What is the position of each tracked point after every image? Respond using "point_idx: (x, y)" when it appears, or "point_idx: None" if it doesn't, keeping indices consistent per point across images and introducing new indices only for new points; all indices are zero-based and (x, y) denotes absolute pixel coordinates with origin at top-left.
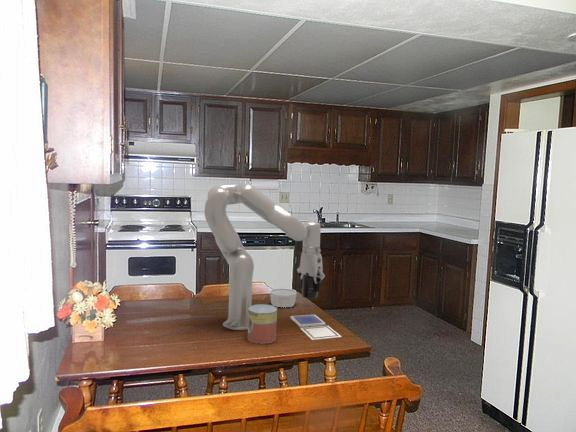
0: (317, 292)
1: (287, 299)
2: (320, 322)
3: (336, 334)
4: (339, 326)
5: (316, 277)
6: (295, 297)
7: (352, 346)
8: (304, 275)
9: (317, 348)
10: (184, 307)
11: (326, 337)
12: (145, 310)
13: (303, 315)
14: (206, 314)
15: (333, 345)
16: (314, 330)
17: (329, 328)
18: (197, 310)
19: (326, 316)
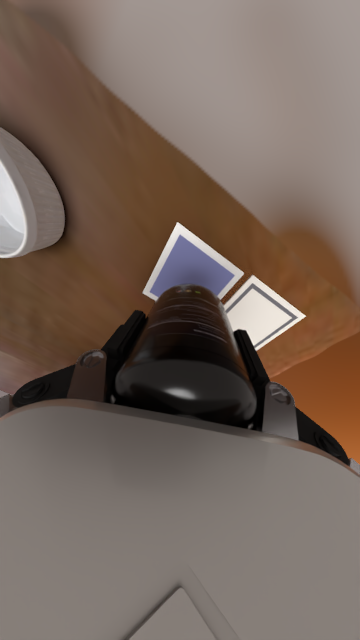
0: (227, 316)
1: (42, 225)
2: (229, 280)
3: (291, 314)
4: (286, 251)
5: (250, 429)
6: (14, 151)
7: (334, 339)
8: (80, 383)
9: (267, 371)
10: (11, 360)
11: (271, 337)
12: (18, 385)
13: (159, 261)
14: (55, 362)
15: (292, 352)
16: (234, 323)
17: (264, 293)
18: (31, 358)
19: (211, 184)
